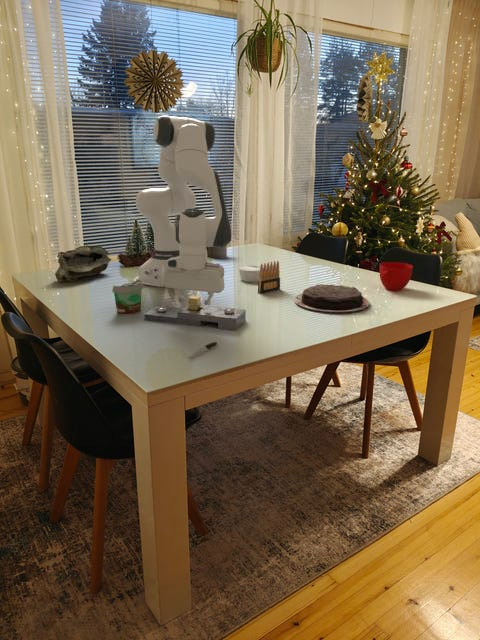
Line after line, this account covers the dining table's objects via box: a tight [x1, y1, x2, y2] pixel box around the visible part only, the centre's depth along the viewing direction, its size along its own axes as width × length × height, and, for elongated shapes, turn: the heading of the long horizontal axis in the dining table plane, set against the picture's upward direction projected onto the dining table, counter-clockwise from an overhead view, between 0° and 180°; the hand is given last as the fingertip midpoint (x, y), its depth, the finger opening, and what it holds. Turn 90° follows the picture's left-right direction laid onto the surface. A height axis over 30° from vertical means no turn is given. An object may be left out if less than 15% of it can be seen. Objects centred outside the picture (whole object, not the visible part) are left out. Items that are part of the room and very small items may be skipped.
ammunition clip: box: [257, 260, 281, 295], centre depth 199 cm, size 11×2×12 cm, turn 130°
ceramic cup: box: [379, 261, 414, 292], centre depth 203 cm, size 13×17×10 cm
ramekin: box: [238, 265, 261, 283], centre depth 218 cm, size 11×11×5 cm
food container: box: [112, 279, 144, 315], centre depth 172 cm, size 12×6×10 cm, turn 148°
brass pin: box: [187, 295, 202, 312], centre depth 163 cm, size 3×3×8 cm
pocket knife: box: [187, 341, 219, 360], centre depth 138 cm, size 14×1×2 cm, turn 145°
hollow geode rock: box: [54, 245, 112, 283], centre depth 219 cm, size 28×13×15 cm
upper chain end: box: [177, 304, 247, 332], centre depth 162 cm, size 20×10×5 cm, turn 72°
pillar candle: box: [208, 244, 228, 259], centre depth 263 cm, size 10×10×15 cm
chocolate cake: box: [293, 283, 371, 315], centre depth 185 cm, size 28×28×7 cm
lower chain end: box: [143, 305, 208, 327], centre depth 166 cm, size 20×10×3 cm, turn 72°
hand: (194, 303), depth 163 cm, fingers open, 8 cm apart
